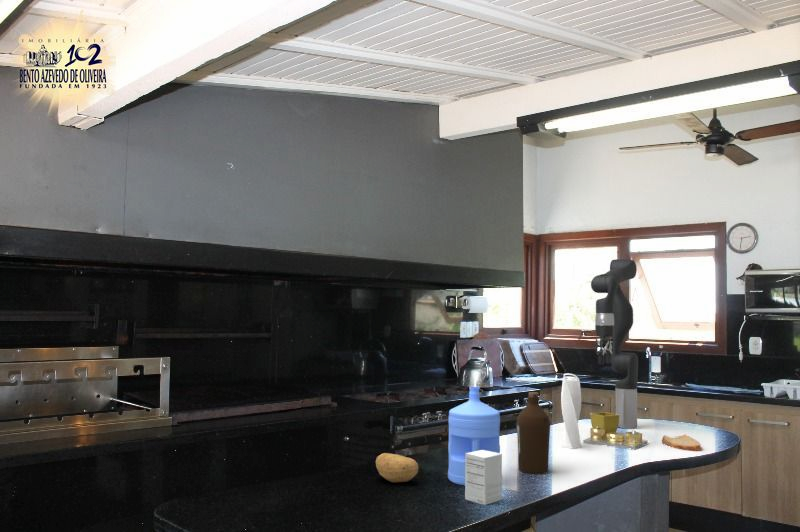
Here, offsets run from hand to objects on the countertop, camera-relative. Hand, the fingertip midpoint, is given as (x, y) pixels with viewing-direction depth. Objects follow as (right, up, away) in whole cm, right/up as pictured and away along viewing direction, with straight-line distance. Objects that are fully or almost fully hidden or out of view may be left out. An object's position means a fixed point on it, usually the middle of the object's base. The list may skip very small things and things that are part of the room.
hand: (604, 363), depth 288 cm
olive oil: (-41, -26, -62) cm, 79 cm away
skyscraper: (-19, -29, -22) cm, 41 cm away
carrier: (0, -29, -13) cm, 32 cm away
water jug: (-62, -25, -77) cm, 102 cm away
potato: (-85, -24, -79) cm, 119 cm away
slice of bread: (+26, -30, -16) cm, 43 cm away
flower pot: (+1, -31, +3) cm, 31 cm away
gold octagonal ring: (+6, -28, -18) cm, 34 cm away
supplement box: (-62, -24, -98) cm, 118 cm away
